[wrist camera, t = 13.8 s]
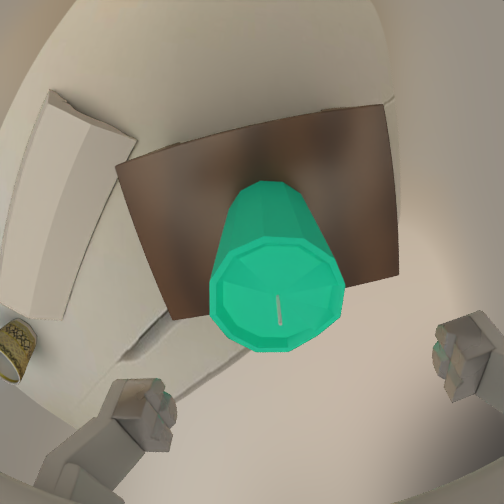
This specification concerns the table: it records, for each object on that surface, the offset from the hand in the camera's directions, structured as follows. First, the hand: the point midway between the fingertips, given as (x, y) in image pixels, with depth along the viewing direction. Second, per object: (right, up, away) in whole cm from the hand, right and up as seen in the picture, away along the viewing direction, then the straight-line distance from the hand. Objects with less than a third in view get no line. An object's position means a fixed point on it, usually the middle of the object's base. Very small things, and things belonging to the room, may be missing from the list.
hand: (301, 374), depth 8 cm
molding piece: (-30, +8, +29) cm, 43 cm away
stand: (0, +11, +27) cm, 30 cm away
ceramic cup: (-47, -11, +39) cm, 61 cm away
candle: (0, +6, +15) cm, 16 cm away
